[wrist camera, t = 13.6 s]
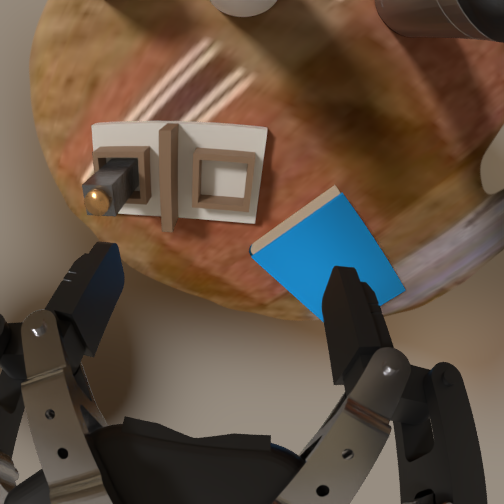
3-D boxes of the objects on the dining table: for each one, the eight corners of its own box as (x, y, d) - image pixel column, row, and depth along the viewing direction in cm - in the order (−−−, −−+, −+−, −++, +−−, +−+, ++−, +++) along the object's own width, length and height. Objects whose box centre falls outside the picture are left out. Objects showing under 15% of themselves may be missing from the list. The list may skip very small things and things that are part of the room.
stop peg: (137, 158, 37) (108, 188, 29) (139, 184, 39) (113, 219, 31) (112, 158, 36) (78, 188, 28) (114, 183, 39) (84, 218, 31)
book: (342, 192, 38) (407, 290, 49) (334, 180, 41) (399, 275, 52) (247, 260, 45) (332, 334, 55) (247, 244, 48) (329, 318, 59)
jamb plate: (266, 127, 36) (269, 137, 32) (254, 218, 44) (255, 239, 40) (96, 122, 34) (77, 133, 30) (105, 208, 43) (90, 226, 38)
